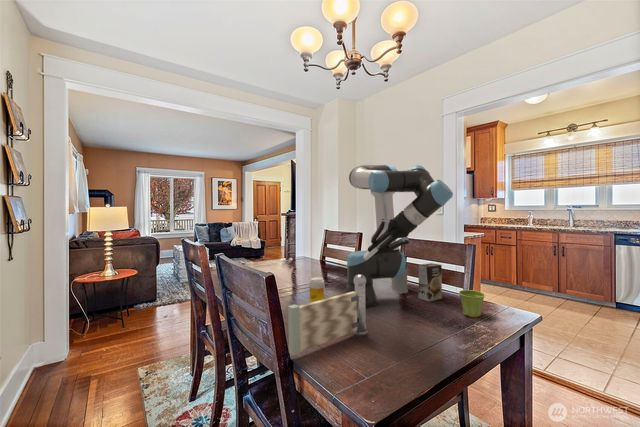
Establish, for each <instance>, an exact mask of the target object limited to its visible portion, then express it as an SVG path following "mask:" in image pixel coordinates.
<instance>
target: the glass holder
mask: <svg viewBox="0 0 640 427" xmlns="http://www.w3.org/2000/svg"><path fill="white" fill-rule="evenodd" d="M407 266H408V264H407V261H406V268H405V271H404V273H403V275H402V276H401V277H397V278H390V280H391V289H390V292H391V291H392V292H391V293H393V292H394V293H393V294H401V295H402V294H403V293H404V294H407V293H409V290H408V267H407Z"/></svg>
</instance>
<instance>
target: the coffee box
mask: <svg viewBox="0 0 640 427" xmlns="http://www.w3.org/2000/svg"><path fill="white" fill-rule="evenodd" d="M442 271H443V269H442V264H439V263H433V262H431V263H430V262H429V263H423V264H418V299H421V300H424V301H425V302H433V301H436V300H441V299H442V298H443V286H442V285H443V283H442V282H443V281H442V280H443V279H442V277H443V276H442V274H443V272H442Z"/></svg>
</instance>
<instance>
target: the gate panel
mask: <svg viewBox="0 0 640 427" xmlns="http://www.w3.org/2000/svg"><path fill="white" fill-rule="evenodd" d="M357 300H358V295H357V292H354V291H353V292H349V293H345V292H344V293H342V294H338V295H334V296H331V297H326V298H325V299H323V300H319V301H315V302H311V303H310V302H308V303H304V304H301V305H297V304H291V305H288V306H287V318H288V320H287V321H288V329H287V330H288V353H289V354H291V355H292V356H296V355H298V354H301V352H304V351H307V350H309V349H312V348H314V347H317V346H320V345H322V344H325V343H327V342H330V341H333V340H335V339H337V338H340V337H343V336H344V335H347V334H351V333H354V331H356V330H357V327H358V326H359V322H358V321H357Z"/></svg>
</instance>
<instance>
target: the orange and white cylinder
mask: <svg viewBox="0 0 640 427" xmlns="http://www.w3.org/2000/svg"><path fill="white" fill-rule="evenodd" d="M325 295H326V294H325V280H324V278H323V277H321V276H320V277H318V276H317V277H316V276H315V277H311V278H310V279H309V303H311V302H315V301H319V300H323V299H326V298H325Z"/></svg>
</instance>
